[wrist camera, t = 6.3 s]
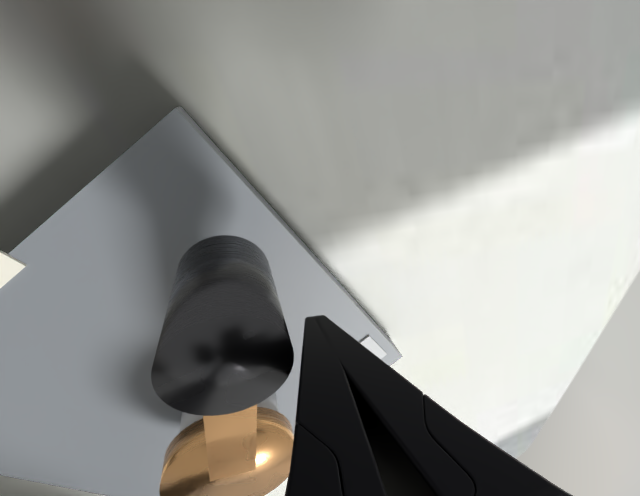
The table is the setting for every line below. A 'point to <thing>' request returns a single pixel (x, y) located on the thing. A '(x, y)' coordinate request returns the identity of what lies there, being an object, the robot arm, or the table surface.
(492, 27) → the table surface
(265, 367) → the crank handle
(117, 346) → the base
